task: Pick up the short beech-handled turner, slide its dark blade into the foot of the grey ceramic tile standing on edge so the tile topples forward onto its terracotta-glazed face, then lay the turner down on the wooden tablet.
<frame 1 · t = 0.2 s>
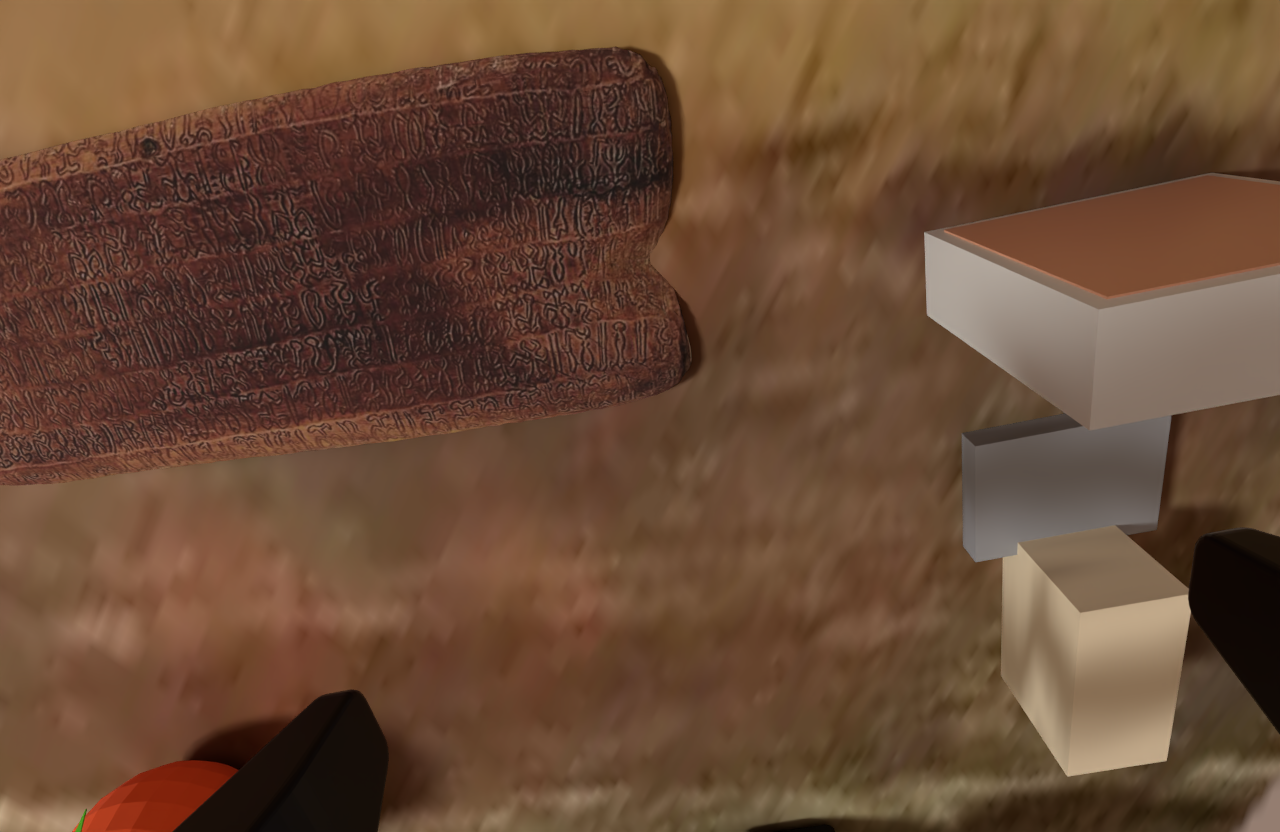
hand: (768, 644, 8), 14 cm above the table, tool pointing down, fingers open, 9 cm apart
wooden tablet: (241, 291, 21), on the table
clementine: (216, 768, 28), on the table
tile: (1063, 246, 20), on the table
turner: (1046, 574, 25), on the table
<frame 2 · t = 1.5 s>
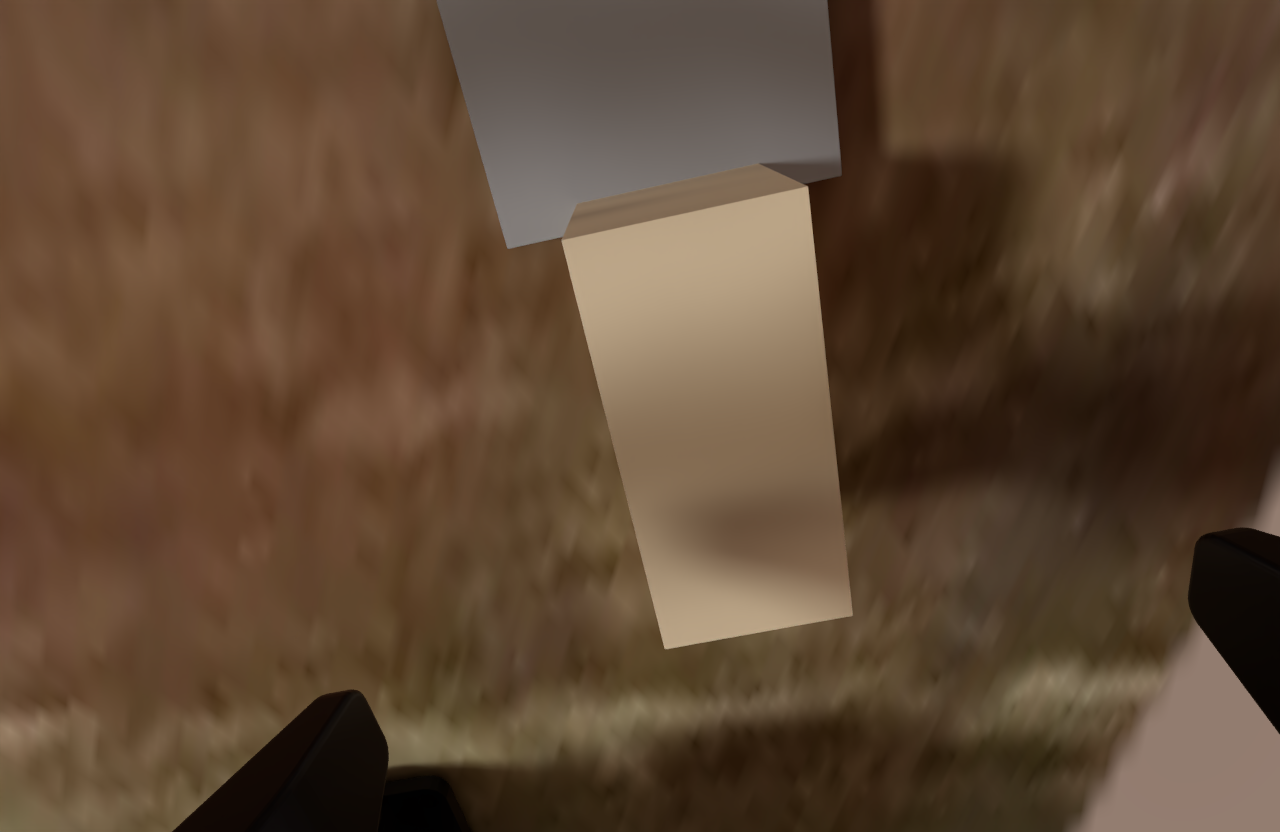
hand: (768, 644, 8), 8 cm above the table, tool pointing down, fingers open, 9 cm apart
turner: (687, 305, 14), on the table
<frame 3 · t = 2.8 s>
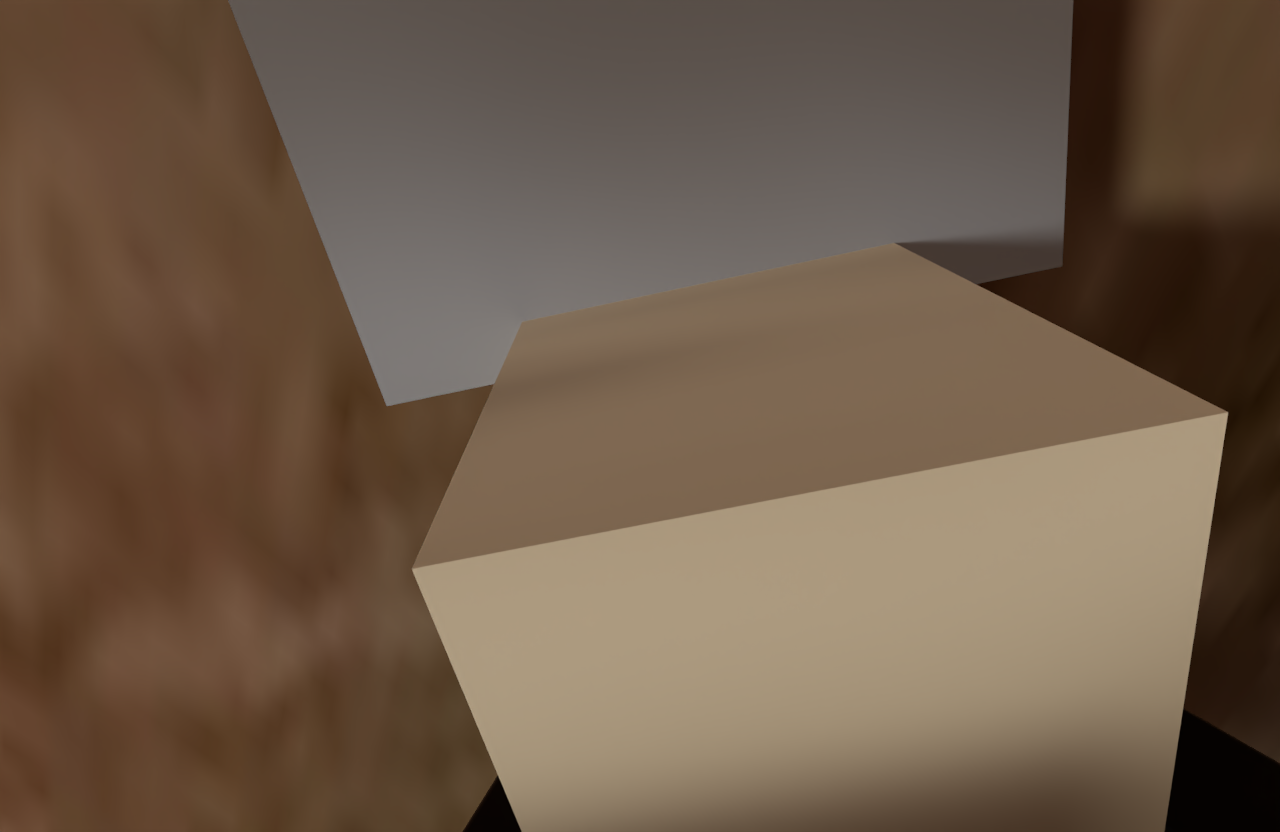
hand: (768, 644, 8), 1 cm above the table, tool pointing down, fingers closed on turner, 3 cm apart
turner: (732, 477, 8), on the table, touching gripper
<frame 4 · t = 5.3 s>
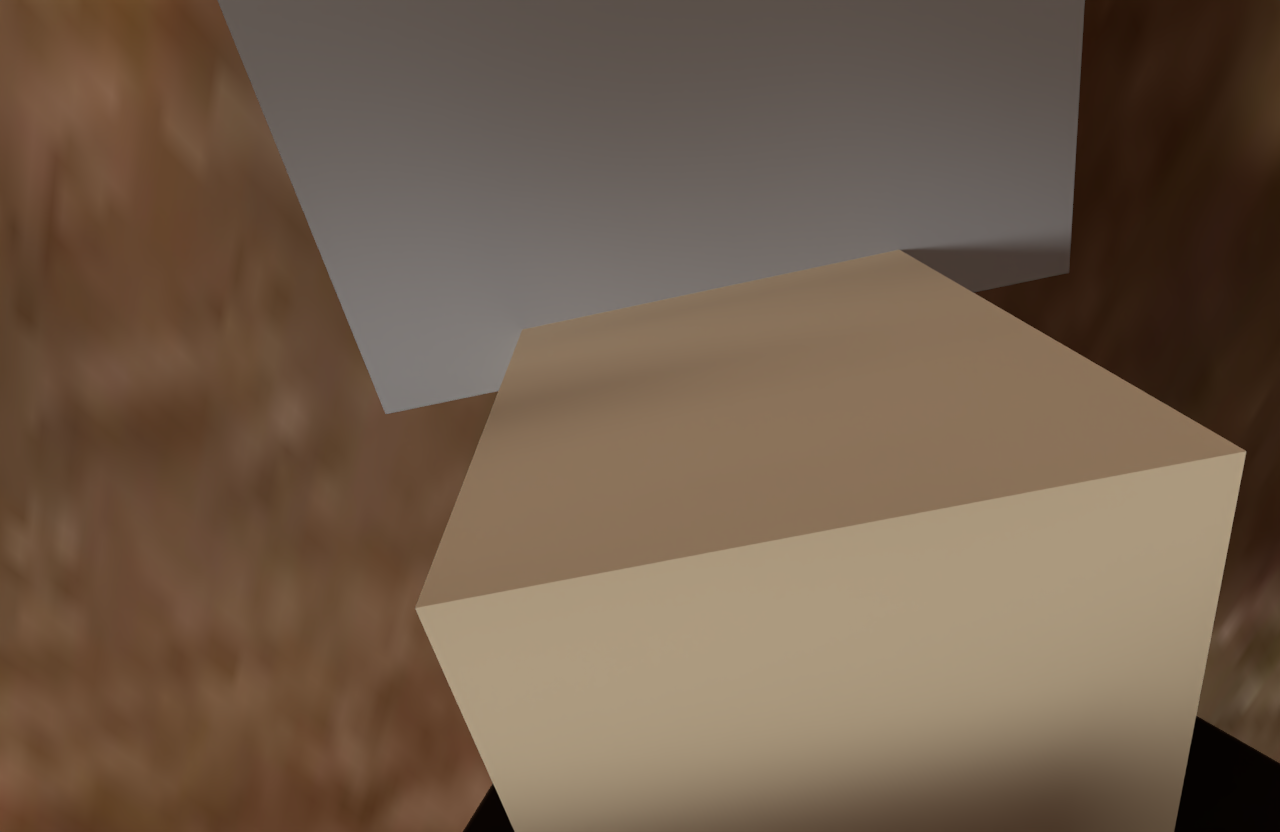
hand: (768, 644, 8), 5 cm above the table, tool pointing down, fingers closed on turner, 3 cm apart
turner: (733, 481, 8), point 4 cm above the table, touching gripper
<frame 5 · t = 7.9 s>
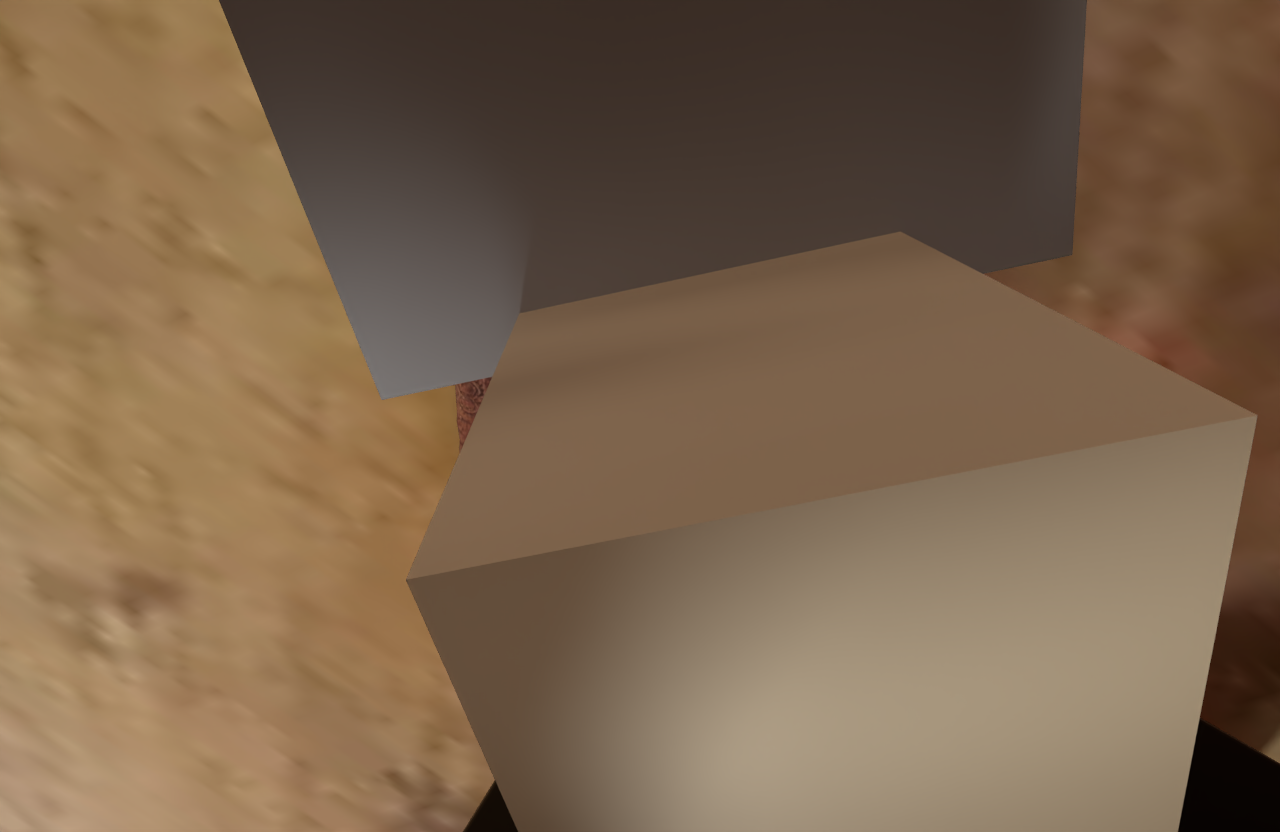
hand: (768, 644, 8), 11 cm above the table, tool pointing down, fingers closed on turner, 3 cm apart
wooden tablet: (631, 558, 22), on the table
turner: (733, 469, 8), point 10 cm above the table, touching gripper
when the fingers open (4 cm above the table, at t = 9.7 s): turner drops 3 cm, resting on wooden tablet.
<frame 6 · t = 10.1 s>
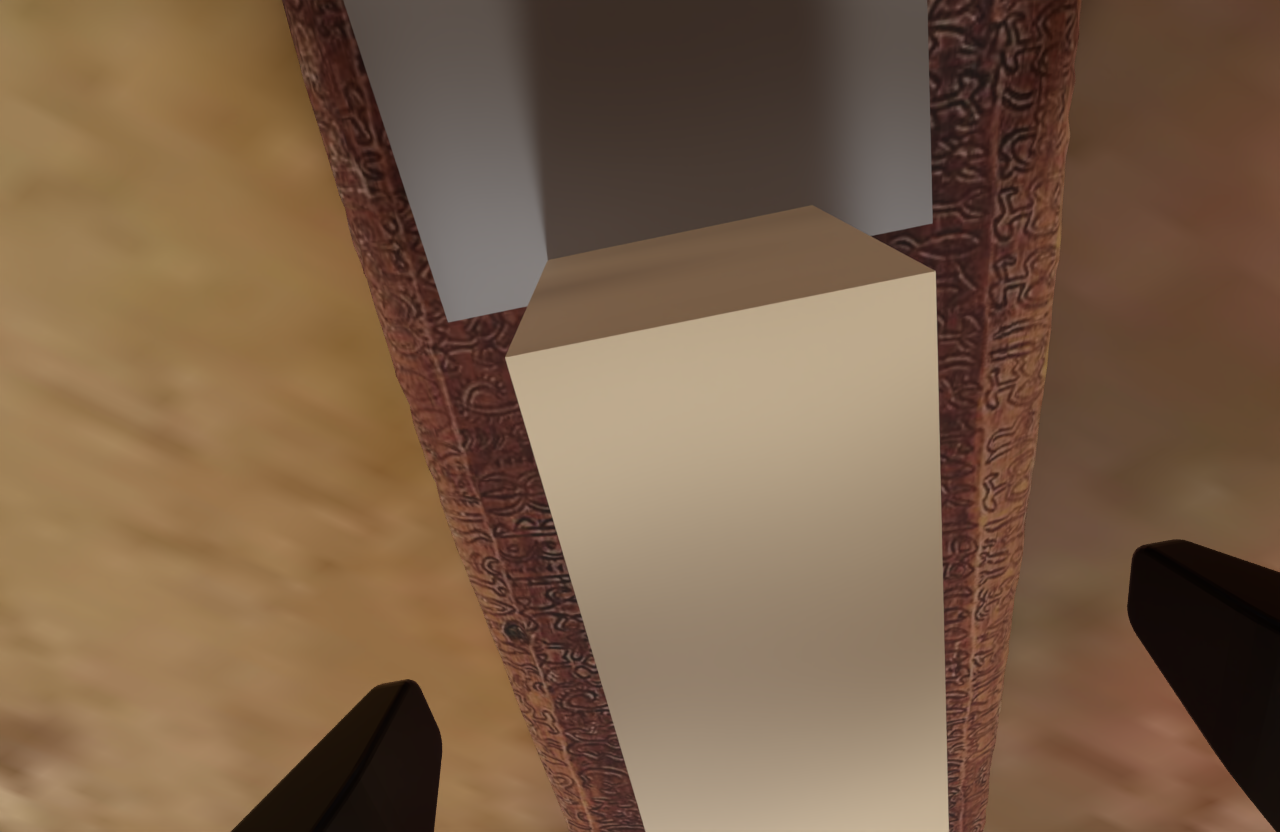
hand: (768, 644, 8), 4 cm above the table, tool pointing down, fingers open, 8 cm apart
wooden tablet: (734, 551, 14), on the table, touching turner
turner: (702, 391, 10), point 1 cm above the table, touching wooden tablet
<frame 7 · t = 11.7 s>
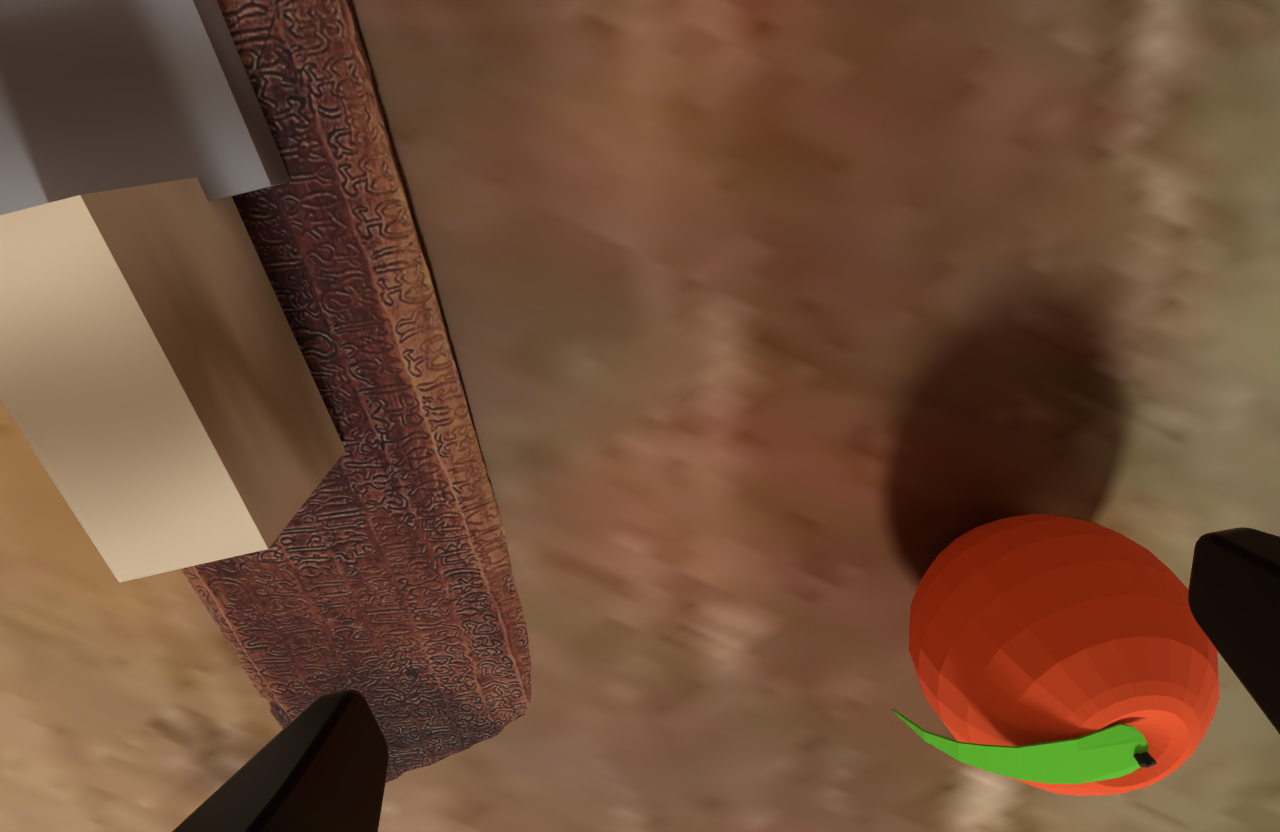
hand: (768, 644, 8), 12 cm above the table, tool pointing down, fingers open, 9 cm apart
wooden tablet: (303, 423, 20), on the table
clementine: (963, 568, 22), on the table
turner: (206, 298, 16), point 1 cm above the table
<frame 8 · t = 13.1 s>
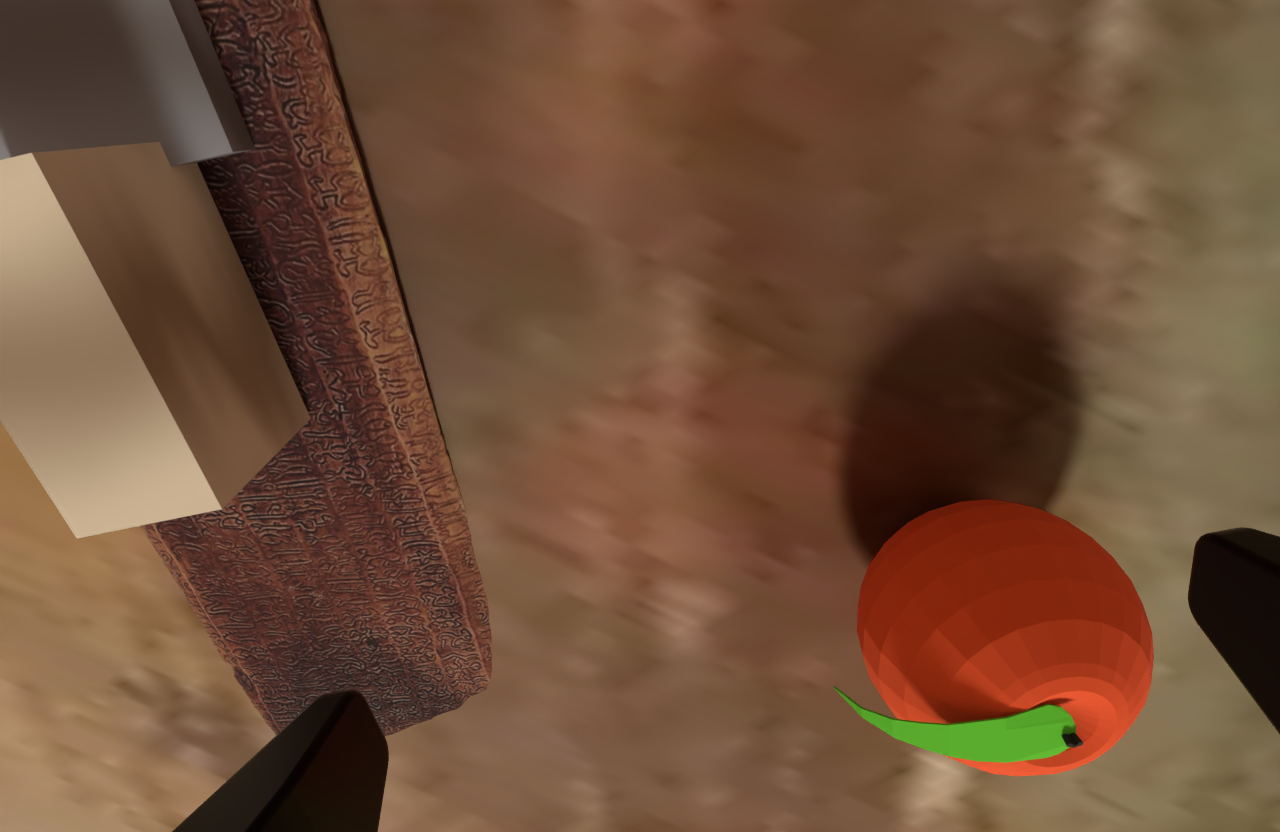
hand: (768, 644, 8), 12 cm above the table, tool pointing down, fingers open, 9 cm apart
wooden tablet: (266, 393, 20), on the table, touching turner
clementine: (918, 553, 22), on the table
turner: (172, 264, 17), point 1 cm above the table, touching wooden tablet
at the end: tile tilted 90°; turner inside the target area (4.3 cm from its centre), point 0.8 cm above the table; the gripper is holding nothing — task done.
